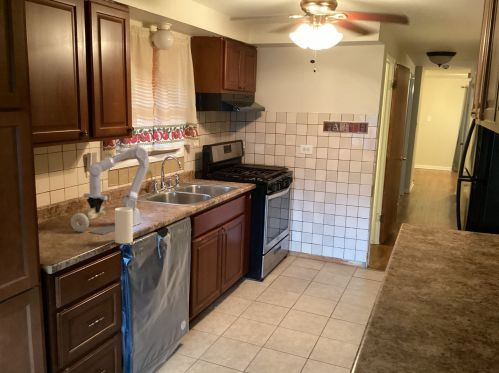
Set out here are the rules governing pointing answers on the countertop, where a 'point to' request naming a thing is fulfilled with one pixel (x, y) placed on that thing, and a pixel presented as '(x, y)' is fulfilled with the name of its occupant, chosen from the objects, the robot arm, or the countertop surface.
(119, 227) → the cup
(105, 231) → the mat
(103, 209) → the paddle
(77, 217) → the donut
